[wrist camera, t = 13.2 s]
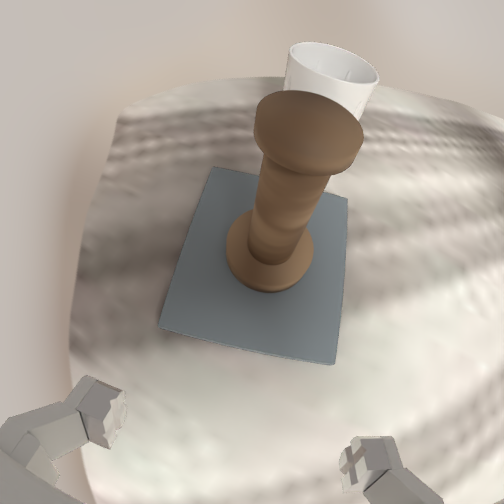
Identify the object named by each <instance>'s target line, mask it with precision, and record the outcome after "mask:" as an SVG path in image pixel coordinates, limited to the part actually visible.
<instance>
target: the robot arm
mask: <svg viewBox="0 0 504 504" xmlns="http://www.w3.org/2000/svg"><path fill="white" fill-rule="evenodd" d="M125 398H126V396H125V391H123V390H120V389H118V388H116V387H113V386H111V385H108V384H106V383H104V382H102V381H99V380H97V379H95V378H93V377H90V376H88V375H86V376H84V377H82V379H81V380H80V381H79V383H78V384H77V385H76V386H75V388H74V389H73V390H72V392H71V393H70V394H69V396H68V397H67V398H66V400H65V401H64V402H63V403H62V402H57V403H54V404H51V405H48V406H45V407H42V408H39V409H36V410H32V411H29V412H26V413H23V414H20V415H16V416H13V417H9V418H8V419H7V420H6V422H5V423H4V424H3V425H2V426H1V428H0V504H86V503H84V502H82V501H80V500H78V499H76V498H74V497H73V496H71V495H69V494H67V493H65V492H63V491H62V490H60V489H58V488H56V487H55V484H56V482H57V480H58V478H59V476H60V474H59V472H58V470H57V469H56V467H55V466H54V464H53V462H52V461H53V460H56V459H58V458H60V457H62V456H64V455H66V454H68V453H69V452H71V451H73V450H75V449H77V448H79V447H81V446H82V445H84V444H86V443H88V442H89V441H90V442H93V443H95V444H97V445H100V446H102V447H105V448H107V449H109V450H110V449H111V447H112V445H113V443H114V441H115V439H116V437H117V435H116V430H118V429H120V428H121V427H122V425H123V423H124V421H125V418H126V413H127V406H126V404H125V403H124V402H123V401H124V400H125ZM350 443H351V446H349V447H347V448H345V449H344V450H343V452H342V453H341V456H340V459H339V467H340V471H341V472H342V473H343V474H344V476H343V477H342V479H341V482H342V488H343V493H360V492H364V493H363V494H364V496H365V497H366V498H367V499H368V501H369V502H370V503H371V504H444V502H443V499H442V498H441V497H440V496H439V495H438V494H436V493H435V492H434V491H433V490H432V489H430V488H429V487H428V486H427V485H426V484H424V483H423V482H422V481H421V480H420V479H419V478H417V477H416V476H415V475H414V474H413V473H412V472H411V471H409V470H408V469H407V468H403V465H402V462H401V459H400V456H399V453H398V450H397V447H396V444H395V441H394V438H393V437H392V436H380V437H379V436H356V437H354V438H353V439H352V440H351V442H350ZM494 504H504V499H502V500H500V501H498V502H496V503H494Z"/></svg>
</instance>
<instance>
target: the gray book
mask: <svg viewBox="0 0 504 504" xmlns="http://www.w3.org/2000/svg"><path fill="white" fill-rule="evenodd" d="M258 182H259V176H256V175H252V174H247V173H243V172H238V171H233V170H228V169H223V168H218V167H212V170H211V172H210V175H209V177H208V180H207V183H206V185H205V188H204V190H203V193H202V196H201V198H200V201H199V203H198V206H197V209H196V211H195V214H194V217H193V220H192V222H191V225H190V228H189V231H188V233H187V236H186V239H185V242H184V245H183V248H182V251H181V254H180V256H179V259H178V262H177V265H176V268H175V271H174V274H173V278H172V281H171V284H170V287H169V290H168V293H167V296H166V299H165V303H164V306H163V309H162V313H161V316H160V319H159V323H158V327H159V328H161V329H164V330H168V331H171V332H175V333H178V334H182V335H186V336H189V337H193V338H197V339H201V340H205V341H209V342H213V343H217V344H221V345H225V346H229V347H234V348H238V349H243V350H247V351H252V352H257V353H262V354H267V355H272V356H277V357H282V358H288V359H294V360H299V361H305V362H312V363H318V364H325V365H334V364H335V359H336V352H337V344H338V336H339V328H340V319H341V309H342V299H343V287H344V274H345V258H346V238H347V203H348V199H347V198H344V197H340V196H336V195H333V194H329V193H326V192H323V193H322V195H321V197H320V199H319V201H318V203H317V205H316V207H315V209H314V211H313V214H312V216H311V218H310V220H309V222H308V224H307V226H306V228H307V229H308V231H309V233H310V235H311V237H312V241H313V247H314V253H313V259H312V262H311V264H310V266H309V268H308V269H307V271H306V272H305V274H304V275H303V276H302V278H301V279H300V280H299V281H298V282H297V283H296V284H295V285H294V286H293V287H291V288H289V289H287V290H284V291H281V292H277V293H263V292H258V291H255V290H252V289H250V288H248V287H246V286H245V285H243V284H242V283H241V282H239V281H238V280H237V279H236V278H235V276H234V275H233V274H232V272H231V270H230V269H229V266H228V263H227V259H226V242H227V235H228V232H229V229H230V227H231V225H232V224H233V222H234V221H235V220H236V219H237V218H238V217H239V216H241V215H242V214H243V213H245V212H247V211H249V210H252V209H253V208H254V203H255V198H256V192H257V187H258Z"/></svg>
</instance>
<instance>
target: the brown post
mask: <svg viewBox="0 0 504 504" xmlns="http://www.w3.org/2000/svg"><path fill="white" fill-rule="evenodd" d="M254 137H255V140H256V143H257V144H258V146H259V148H260V149H261V150H262V151H263V153H264V155H263V161H262V166H261V171H260V176H259V182H258V187H257V192H256V198H255V203H254V208H253V209H252V210H249V211H247V212H245V213H243V214H242V215H241V216H239V217H238V218H237V219H236V220H235V221H234V222H233V224H232V225H231V227H230V229H229V232H228V235H227V242H226V259H227V263H228V266H229V269H230V270H231V272H232V274H233V275H234V276H235V278H236V279H237V280H238V281H239V282H241V283H242V284H243V285H245V286H246V287H248V288H250V289H252V290H255V291H258V292H263V293H277V292H281V291H284V290H287V289H289V288H291V287H293V286H294V285H295V284H296V283H297V282H298V281H299V280H300V279H301V278H302V276H303V275H304V274H305V272H306V271H307V269H308V268H309V266H310V264H311V262H312V259H313V253H314V247H313V241H312V237H311V235H310V233H309V231H308V229H307V228H306V226H307V224H308V222H309V220H310V218H311V216H312V214H313V211H314V209H315V207H316V205H317V203H318V201H319V199H320V197H321V195H322V193H323V191H324V189H325V187H326V184H327V182H328V180H329V178H330V176H331V175H335V174H338V173H341V172H343V171H345V170H346V169H347V168H349V167H350V166H351V164H352V163H353V161H354V159H355V157H356V155H357V153H358V151H359V149H360V147H361V145H362V143H363V139H364V136H363V130H362V128H361V125H360V124H359V122H358V120H357V119H356V118H355V117H354V116H353V114H352V113H350V112H349V111H348V110H347V109H346V108H344V107H343V106H342V105H340V104H339V103H337V102H335V101H333V100H331V99H329V98H327V97H325V96H322V95H319V94H316V93H312V92H307V91H300V90H285V91H279V92H275V93H272V94H270V95H268V96H266V97H265V98H263V99H262V100H261V101H260V103H259V104H258V106H257V111H256V117H255V124H254Z"/></svg>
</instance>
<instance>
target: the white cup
mask: <svg viewBox="0 0 504 504" xmlns="http://www.w3.org/2000/svg"><path fill="white" fill-rule="evenodd" d="M379 79H380V77H379V74H378V72H377V71H376V69H375V68H374V67H373V66H372V65H371V64H370V63H369V62H367V61H366V60H364V59H363V58H361V57H360V56H358V55H356V54H354V53H352V52H350V51H348V50H345V49H343V48H340V47H337V46H334V45H330V44H325V43H319V42H299V43H296V44H294V45H292V46H291V47H290V49H289V54H288V61H287V68H286V74H285V81H284V87H283V91H285V90H300V91H307V92H312V93H316V94H319V95H322V96H325V97H327V98H329V99H331V100H333V101H335V102H337V103H339V104H340V105H342V106H343V107H344V108H346V109H347V110H348V111H349V112H350V113H352V114H353V116H354V117H355V118H356V119H357V120H358V121H359V119H360V117H361V115H362V113H363V111H364V109H365V107H366V105H367V103H368V101H369V99H370V97H371V95H372V93H373V92H374V90H375V88H376V86H377V84H378V82H379Z"/></svg>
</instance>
